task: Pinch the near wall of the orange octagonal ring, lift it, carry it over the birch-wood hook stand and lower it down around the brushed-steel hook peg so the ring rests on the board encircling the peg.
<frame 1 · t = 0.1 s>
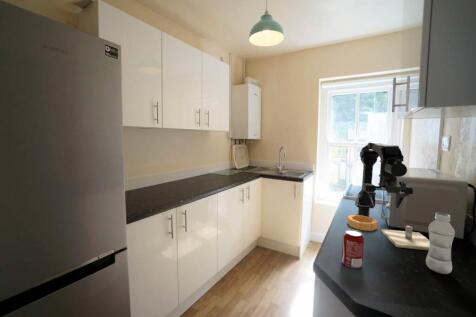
hand: (385, 207, 99), 15 cm above the worktop, tool pointing down, fingers open, 9 cm apart
hook stand: (408, 240, 98), on the worktop
soda can: (351, 264, 79), on the worktop
orange octagonal ring: (361, 225, 115), on the worktop
plastic bottle: (437, 271, 75), on the worktop
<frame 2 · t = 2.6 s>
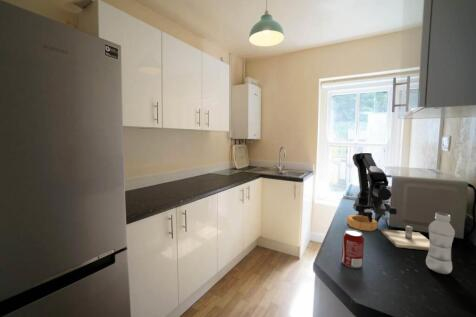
hand: (373, 224, 114), 1 cm above the worktop, tool pointing down, fingers closed on orange octagonal ring, 2 cm apart
orange octagonal ring: (361, 225, 115), on the worktop, touching gripper
everything else where it was.
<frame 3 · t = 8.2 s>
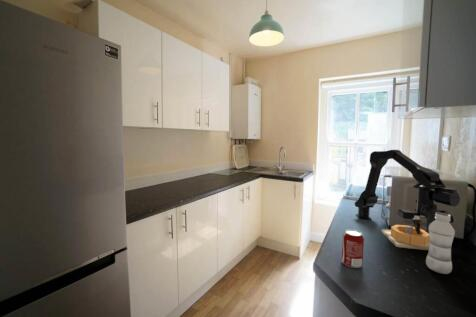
hand: (423, 234, 97), 3 cm above the worktop, tool pointing down, fingers open, 3 cm apart
orange octagonal ring: (409, 238, 98), point 1 cm above the worktop, touching hook stand
everything else where it was.
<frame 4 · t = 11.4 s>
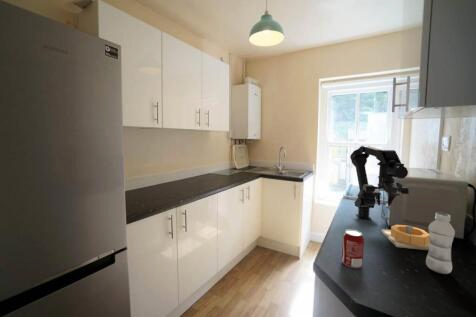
hand: (383, 205, 110), 12 cm above the worktop, tool pointing down, fingers open, 4 cm apart
nothing on the worktop moved.
at the end: orange octagonal ring 0.3 cm from the hook stand (horizontally); orange octagonal ring point 1.2 cm above the worktop; the gripper is holding nothing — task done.
